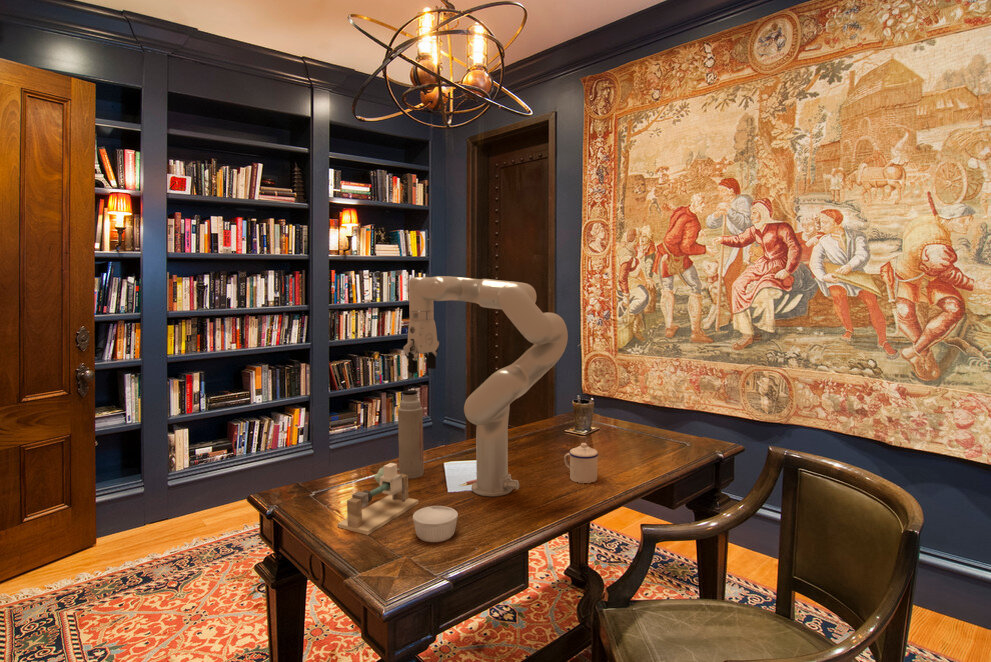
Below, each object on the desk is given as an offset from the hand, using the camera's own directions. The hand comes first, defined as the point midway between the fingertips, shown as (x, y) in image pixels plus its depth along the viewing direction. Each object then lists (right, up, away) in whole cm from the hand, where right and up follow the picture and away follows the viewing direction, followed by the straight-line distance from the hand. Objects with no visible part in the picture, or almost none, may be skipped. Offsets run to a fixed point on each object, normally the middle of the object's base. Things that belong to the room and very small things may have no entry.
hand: (422, 370), depth 173 cm
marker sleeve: (-6, -32, -20) cm, 39 cm away
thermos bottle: (-5, -35, +8) cm, 36 cm away
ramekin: (+8, -39, -36) cm, 53 cm away
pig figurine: (-11, -36, -5) cm, 38 cm away
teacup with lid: (+50, -35, +3) cm, 62 cm away
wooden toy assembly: (-8, -38, -24) cm, 45 cm away
